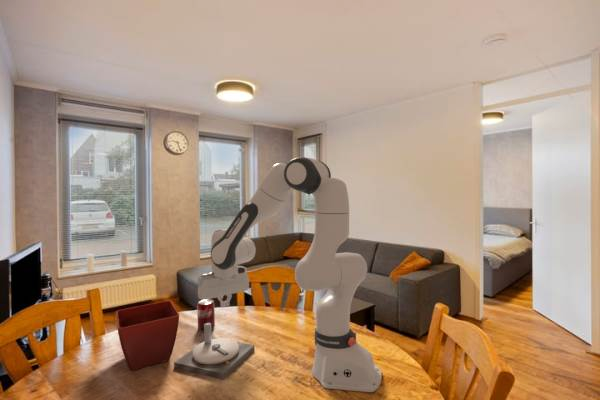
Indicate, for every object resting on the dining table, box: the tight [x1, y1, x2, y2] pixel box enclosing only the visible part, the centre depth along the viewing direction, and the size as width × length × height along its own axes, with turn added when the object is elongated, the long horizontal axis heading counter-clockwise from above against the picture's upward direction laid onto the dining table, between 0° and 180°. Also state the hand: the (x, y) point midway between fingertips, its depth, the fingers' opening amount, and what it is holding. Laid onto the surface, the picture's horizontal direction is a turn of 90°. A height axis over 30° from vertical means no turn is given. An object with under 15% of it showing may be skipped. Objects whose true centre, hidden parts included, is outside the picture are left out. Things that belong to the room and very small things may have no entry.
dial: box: [192, 323, 239, 365], centre depth 112 cm, size 16×16×8 cm
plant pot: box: [115, 300, 180, 371], centre depth 113 cm, size 19×19×17 cm
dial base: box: [173, 336, 255, 381], centre depth 112 cm, size 20×20×2 cm
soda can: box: [196, 298, 216, 333], centre depth 138 cm, size 7×7×12 cm
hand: (224, 306), depth 120 cm, fingers closed
